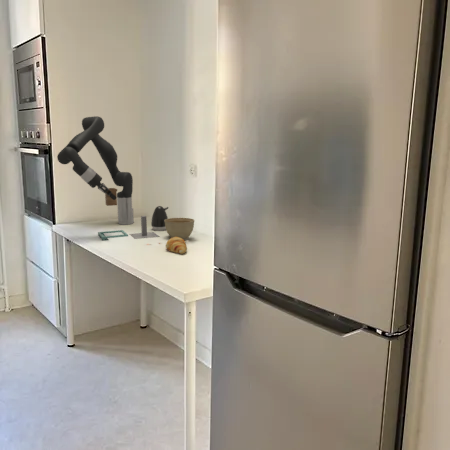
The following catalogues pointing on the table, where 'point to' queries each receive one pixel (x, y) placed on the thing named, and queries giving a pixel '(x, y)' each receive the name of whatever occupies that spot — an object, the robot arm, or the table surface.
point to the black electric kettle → (159, 218)
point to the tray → (111, 236)
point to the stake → (144, 230)
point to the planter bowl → (179, 227)
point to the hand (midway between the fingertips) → (114, 198)
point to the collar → (109, 200)
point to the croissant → (176, 245)
